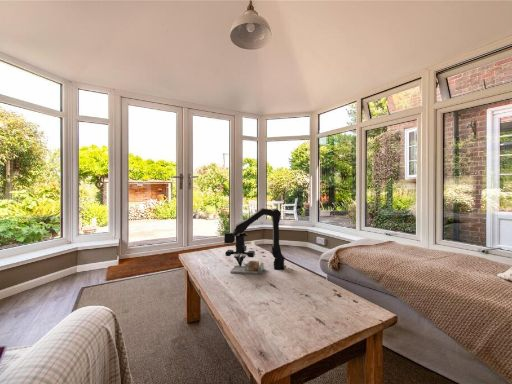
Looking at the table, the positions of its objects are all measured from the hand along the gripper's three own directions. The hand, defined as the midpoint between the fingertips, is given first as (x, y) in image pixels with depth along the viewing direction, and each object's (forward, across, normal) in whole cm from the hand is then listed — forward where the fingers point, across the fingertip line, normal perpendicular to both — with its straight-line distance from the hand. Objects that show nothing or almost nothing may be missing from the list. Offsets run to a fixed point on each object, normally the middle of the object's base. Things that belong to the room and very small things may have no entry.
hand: (240, 266), depth 158 cm
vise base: (+3, -5, 0) cm, 5 cm away
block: (+2, -9, 0) cm, 9 cm away
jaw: (+2, -5, 0) cm, 5 cm away
